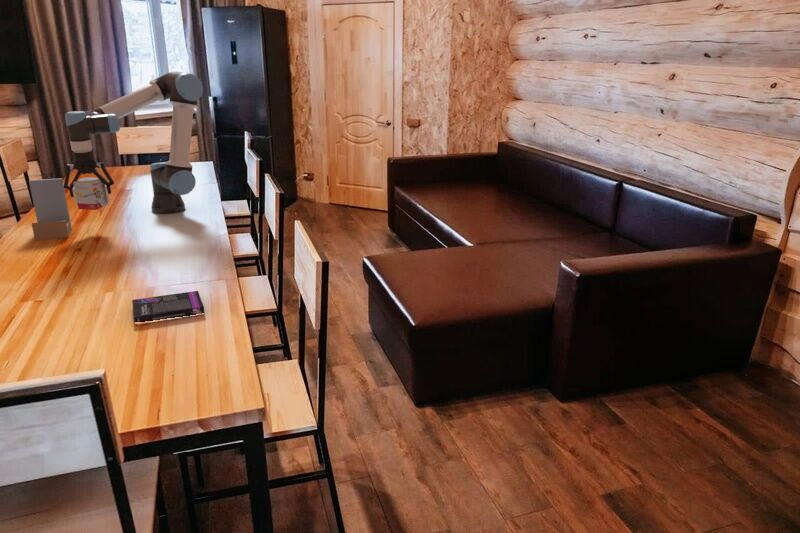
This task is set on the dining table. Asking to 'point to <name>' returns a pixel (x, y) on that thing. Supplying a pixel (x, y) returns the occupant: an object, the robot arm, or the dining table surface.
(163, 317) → the box
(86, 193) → the ink box
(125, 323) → the dining table surface
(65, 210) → the grey magazine holder
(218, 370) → the dining table surface
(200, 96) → the robot arm
